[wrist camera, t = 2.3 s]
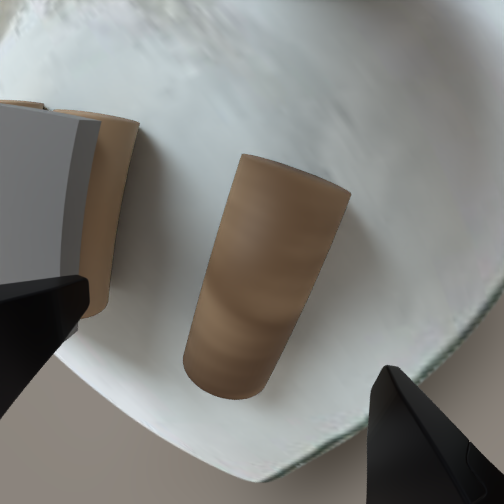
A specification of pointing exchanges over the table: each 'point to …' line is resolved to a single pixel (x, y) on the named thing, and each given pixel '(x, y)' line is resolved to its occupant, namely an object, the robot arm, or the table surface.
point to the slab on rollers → (61, 194)
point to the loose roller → (260, 274)
